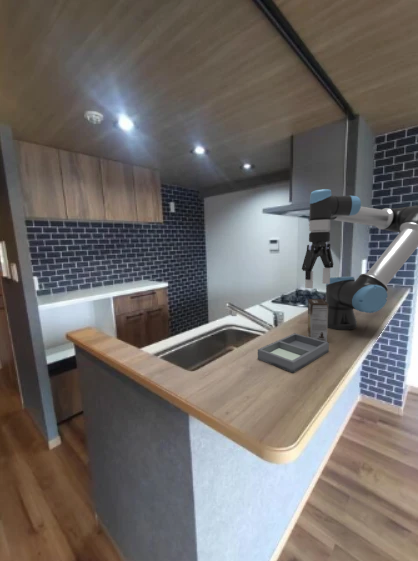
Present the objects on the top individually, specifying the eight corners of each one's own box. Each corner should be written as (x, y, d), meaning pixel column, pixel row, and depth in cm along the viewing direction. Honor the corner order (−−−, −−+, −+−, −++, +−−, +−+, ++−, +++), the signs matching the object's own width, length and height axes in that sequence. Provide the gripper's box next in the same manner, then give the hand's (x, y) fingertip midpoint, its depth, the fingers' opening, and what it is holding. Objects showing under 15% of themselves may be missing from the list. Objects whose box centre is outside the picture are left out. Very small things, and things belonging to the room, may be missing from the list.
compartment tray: (294, 341, 107) (294, 333, 106) (328, 351, 96) (328, 342, 95) (257, 358, 92) (257, 349, 92) (292, 373, 81) (293, 362, 81)
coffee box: (306, 335, 113) (307, 298, 111) (322, 335, 112) (323, 298, 110) (310, 343, 104) (311, 303, 102) (327, 343, 103) (329, 304, 101)
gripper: (325, 232, 112) (324, 281, 115) (292, 232, 97) (291, 288, 100) (343, 231, 107) (341, 282, 110) (311, 231, 91) (310, 291, 94)
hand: (317, 285), depth 105 cm, fingers open, 13 cm apart
